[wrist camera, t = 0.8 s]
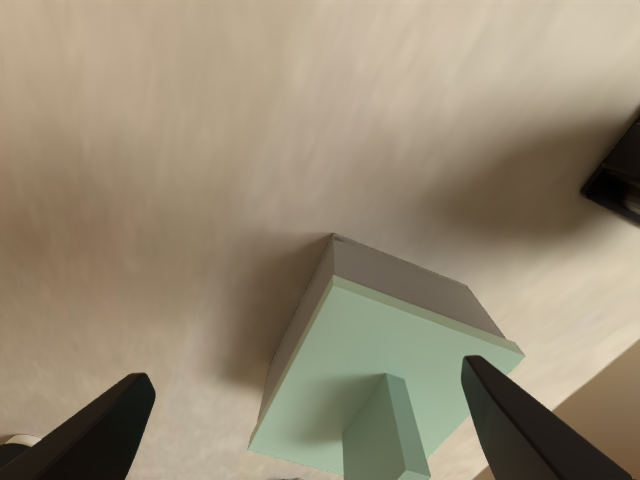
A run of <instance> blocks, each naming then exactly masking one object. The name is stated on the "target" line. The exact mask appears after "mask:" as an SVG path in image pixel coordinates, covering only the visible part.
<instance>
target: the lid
mask: <svg viewBox="0 0 640 480" xmlns="http://www.w3.org/2000/svg"><path fill="white" fill-rule="evenodd" d="M466 355H480V356H482V357H483V358H485V359H486V360H487V361H488V362H490V363H491V364H492V365H493V366H495V367H496V368H497V369H498V370H500V371H501V372H502V373H503V374H505V375H506V376H507V375H508V374H509V373H510V372H511V371H512V370H513V369H514V368H515V367H516V366H517V365H518V364H519V363H520V362H521V360H522V359H523V358H524V357H525V355H524V353H523V352H522V351H521V350H520V348H519V347H518V346H517V344H516V343H515V342H512V341H509V340H507V339H504V338H501V337H498V336H496V335H493V334H490V333H488V332H485V331H482V330H480V329H477V328H474V327H472V326H469V325H466V324H464V323H461V322H458V321H456V320H453V319H450V318H448V317H445V316H442V315H440V314H437V313H434V312H432V311H429V310H426V309H424V308H421V307H418V306H416V305H413V304H410V303H407V302H405V301H402V300H399V299H397V298H394V297H391V296H389V295H386V294H383V293H381V292H378V291H375V290H373V289H370V288H367V287H365V286H362V285H359V284H357V283H354V282H351V281H349V280H346V279H343V278H341V277H338V276H335V275H333V276H332V278H331V280H330V282H329V284H328V285H327V287H326V289H325V291H324V293H323V295H322V297H321V299H320V301H319V303H318V305H317V307H316V309H315V311H314V313H313V315H312V317H311V319H310V321H309V323H308V325H307V327H306V328H305V330H304V332H303V334H302V336H301V338H300V340H299V342H298V344H297V346H296V348H295V350H294V352H293V354H292V356H291V358H290V360H289V362H288V364H287V366H286V368H285V369H284V371H283V373H282V375H281V377H280V379H279V381H278V383H277V385H276V387H275V389H274V391H273V393H272V395H271V397H270V399H269V401H268V403H267V405H266V407H265V409H264V411H263V412H262V414H261V416H260V418H259V420H258V422H257V424H256V426H255V428H254V430H253V432H252V434H251V437H250V441H249V446H248V450H250V451H253V452H257V453H261V454H264V455H268V456H272V457H275V458H279V459H283V460H286V461H290V462H294V463H297V464H301V465H305V466H308V467H312V468H316V469H320V470H323V471H327V472H331V473H334V474H338V475H342V476H344V480H429V479H430V478H431V475H430V471H429V468H428V464H427V458H428V457H429V456H430V455H431V454H432V453H433V452H434V451H435V450H436V449H437V448H438V447H439V446H440V445H441V444H442V443H443V442H444V441H445V440H446V439H447V438H448V437H449V436H450V434H451V433H452V432H453V431H454V430H455V429H456V428H457V427H458V426H459V425H460V424H461V423H462V422H463V421H464V420H465V419H466V418H467V417H468V416H469V415H470V414H471V413H470V410H469V407H468V404H467V401H466V398H465V394H464V391H463V388H462V385H461V369H462V361H463V357H464V356H466Z"/></svg>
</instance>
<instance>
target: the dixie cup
mask: <svg viewBox="0 0 640 480" xmlns="http://www.w3.org/2000/svg"><path fill="white" fill-rule="evenodd" d="M40 440H41V438H38V437H35V436H31V435H15V436H13V437H12V438H10V439H9V440H8V441H7V442H6V443H5V444H3V445H0V470H1V469H2V468H3V467H5V466H6V465H7V464H9V463H10V462H11V461H13V460H14V459H16V458H17V457H18V456H20V455H21V454H22V453H24V452H25V451H26V450H28V449H29V448H30V447H32V446H33V445H34V444H36V443H37V442H38V441H40Z"/></svg>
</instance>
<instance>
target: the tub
mask: <svg viewBox="0 0 640 480" xmlns="http://www.w3.org/2000/svg"><path fill="white" fill-rule="evenodd" d="M333 275H335V276H338V277H341V278H343V279H346V280H349V281H351V282H354V283H357V284H359V285H362V286H365V287H367V288H370V289H373V290H375V291H378V292H381V293H383V294H386V295H389V296H391V297H394V298H397V299H399V300H402V301H405V302H407V303H410V304H413V305H416V306H418V307H421V308H424V309H426V310H429V311H432V312H434V313H437V314H440V315H442V316H445V317H448V318H450V319H453V320H456V321H458V322H461V323H464V324H466V325H469V326H472V327H474V328H477V329H480V330H482V331H485V332H488V333H490V334H493V335H496V336H498V337H501V338H504V339H506V338H505V336H504V335H503V334H502V332H501V331H500V330H499V328H498V327H497V326H496V324H495V323H494V321H493V320H492V319H491V317H490V316H489V315H488V313H487V312H486V311H485V309H484V308H483V307H482V305H481V304H480V303H479V301H478V300H477V298H476V297H475V296H474V294H473V293H472V292H471V290H470V289H469V288H468V286H466V285H464V284H461V283H459V282H456V281H454V280H451V279H449V278H446V277H444V276H441V275H438V274H436V273H433V272H431V271H428V270H426V269H423V268H421V267H418V266H416V265H413V264H411V263H408V262H406V261H403V260H401V259H398V258H395V257H393V256H390V255H388V254H385V253H383V252H380V251H378V250H375V249H373V248H370V247H368V246H365V245H363V244H360V243H358V242H355V241H352V240H350V239H347V238H345V237H342V236H340V235H337V234H335V233H333V234H332V236H331V238H330V240H329V243H328V245H327V247H326V249H325V251H324V253H323V255H322V257H321V259H320V261H319V263H318V266H317V268H316V270H315V272H314V274H313V276H312V278H311V280H310V282H309V284H308V286H307V288H306V291H305V293H304V295H303V297H302V299H301V301H300V303H299V305H298V307H297V309H296V311H295V314H294V316H293V318H292V320H291V322H290V324H289V326H288V328H287V330H286V332H285V334H284V336H283V339H282V341H281V343H280V345H279V347H278V349H277V351H276V353H275V355H274V357H273V359H272V362H271V364H270V366H269V369H268V374H267V379H266V383H265V388H264V393H263V397H262V402H261V406H260V411H259V416H258V420H259V418H260V416H261V414H262V412H263V411H264V409H265V407H266V405H267V403H268V401H269V399H270V397H271V395H272V393H273V391H274V389H275V387H276V385H277V383H278V381H279V379H280V377H281V375H282V373H283V371H284V369H285V368H286V366H287V364H288V362H289V360H290V358H291V356H292V354H293V352H294V350H295V348H296V346H297V344H298V342H299V340H300V338H301V336H302V334H303V332H304V330H305V328H306V327H307V325H308V323H309V321H310V319H311V317H312V315H313V313H314V311H315V309H316V307H317V305H318V303H319V301H320V299H321V297H322V295H323V293H324V291H325V289H326V287H327V285H328V284H329V282H330V280H331V278H332V276H333ZM258 420H257V422H258Z"/></svg>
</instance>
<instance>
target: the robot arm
mask: <svg viewBox="0 0 640 480" xmlns="http://www.w3.org/2000/svg"><path fill="white" fill-rule="evenodd" d="M591 189H593V191H592V192H591V193H590V194H589V192H590V190H591ZM580 194H581V196H582V197H584V198H586V199H588V200H590V201H592V202H594V203H596V204H599V205H601V206H603V207H605V208H607V209H609V210H611V211H613V212H615V213H618V214H620V215H622V216H624V217H626V218H628V219H630V220H632V221H634V222H636V223H639V224H640V117H639V118H638V119H637V120H636V122H635V123H634V124H633V125H632V127H631V128H630V129H629V130H628V131H627V133H626V134H625V135H624V136H623V138H622V139H621V140H620V141H619V143H618V144H617V145H616V146H615V148H614V149H613V150H612V151H611V153H610V154H609V155H608V156H607V157H606V159H605V160H604V161H603V162H602V164H601V165H600V166H599V167H598V169H597V170H596V171H595V172H594V174H593V175H592V176H591V177H590V179H589V180H588V181H587V182H586V183H585V185H584V186H583V187H582V189H581V192H580ZM461 385H462V388H463V391H464V394H465V398H466V401H467V404H468V407H469V410H470V413H471V416H472V419H473V423H474V426H475V429H476V432H477V435H478V438H479V441H480V444H481V447H482V449H483V452H484V454H485V457H486V459H487V461H488V464H489V466H490V468H491V470H492V473H493V475H494V477H495V480H636V479H632V477H631V475H630V474H629V473H628V472H626V471H625V470H624V469H623V468H621V467H620V466H619V465H617V464H616V463H615V462H614V461H613V460H611V459H610V458H609V457H608V456H606V455H605V454H604V453H602V452H601V451H600V450H599V449H597V448H596V447H595V446H594V445H592V444H591V443H590V442H589V441H587V440H586V439H585V438H584V437H582V436H581V435H580V434H579V433H577V432H576V431H575V430H574V429H572V428H571V427H570V426H569V425H567V424H566V423H565V422H563V421H562V420H561V419H560V418H559V417H557V416H556V415H555V414H554V413H552V412H551V411H550V410H549V409H547V408H546V407H545V406H544V405H542V404H541V403H540V402H539V401H537V400H536V399H535V398H534V397H532V396H531V395H530V394H528V393H527V392H526V391H525V390H523V389H522V388H521V387H520V386H518V385H517V384H516V383H515V382H513V381H512V380H511V379H510V378H508V377H507V376H506V375H505V374H503V373H502V372H501V371H500V370H498V369H497V368H496V367H495V366H493V365H492V364H491V363H490V362H488V361H487V360H486V359H485V358H483V357H482V356H480V355H466V356H464V357H463V361H462V369H461ZM155 397H156V393H155V390H154V388H153V385H152V383H151V381H150V379H149V377H148V375H147V374H146V373H131V374H129V375H127V376H126V377H125V378H123V379H122V380H121V381H119V382H118V383H117V384H115V385H114V386H113V387H111V388H110V389H108V390H107V391H106V392H104V393H103V394H102V395H100V396H99V397H98V398H96V399H95V400H94V401H92V402H91V403H90V404H88V405H87V406H86V407H84V408H83V409H82V410H80V411H79V412H78V413H76V414H75V415H73V416H72V417H71V418H69V419H68V420H67V421H65V422H64V423H63V424H61V425H60V426H59V427H57V428H56V429H55V430H53V431H52V432H51V433H49V434H48V435H47V436H45V437H44V438H42V439H41V440H40V441H38V442H37V443H36V444H34V445H33V446H32V447H30V448H29V449H28V450H26V451H25V452H24V453H22V454H21V455H20V456H18V457H17V458H16V459H14V460H13V461H11V462H10V463H9V464H7V465H6V466H5V467H3V468H2V469H1V470H0V480H125V478H126V476H127V474H128V472H129V469H130V467H131V465H132V462H133V460H134V458H135V455H136V452H137V450H138V447H139V444H140V442H141V439H142V436H143V433H144V430H145V427H146V424H147V422H148V419H149V416H150V413H151V410H152V407H153V404H154V401H155Z"/></svg>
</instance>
